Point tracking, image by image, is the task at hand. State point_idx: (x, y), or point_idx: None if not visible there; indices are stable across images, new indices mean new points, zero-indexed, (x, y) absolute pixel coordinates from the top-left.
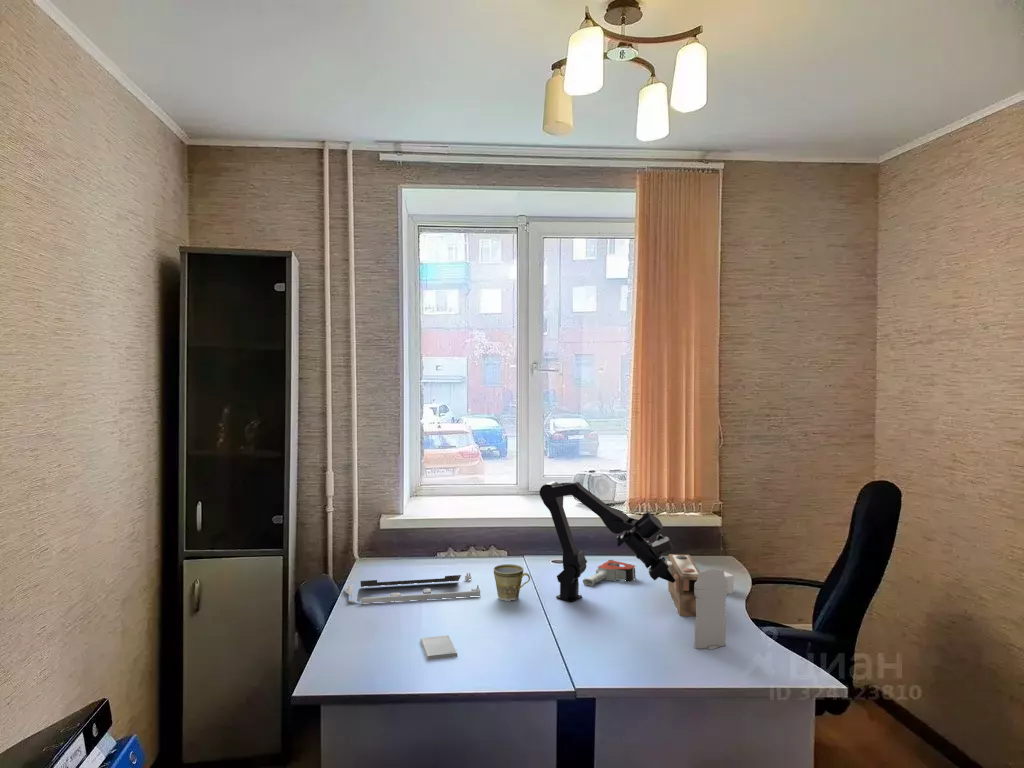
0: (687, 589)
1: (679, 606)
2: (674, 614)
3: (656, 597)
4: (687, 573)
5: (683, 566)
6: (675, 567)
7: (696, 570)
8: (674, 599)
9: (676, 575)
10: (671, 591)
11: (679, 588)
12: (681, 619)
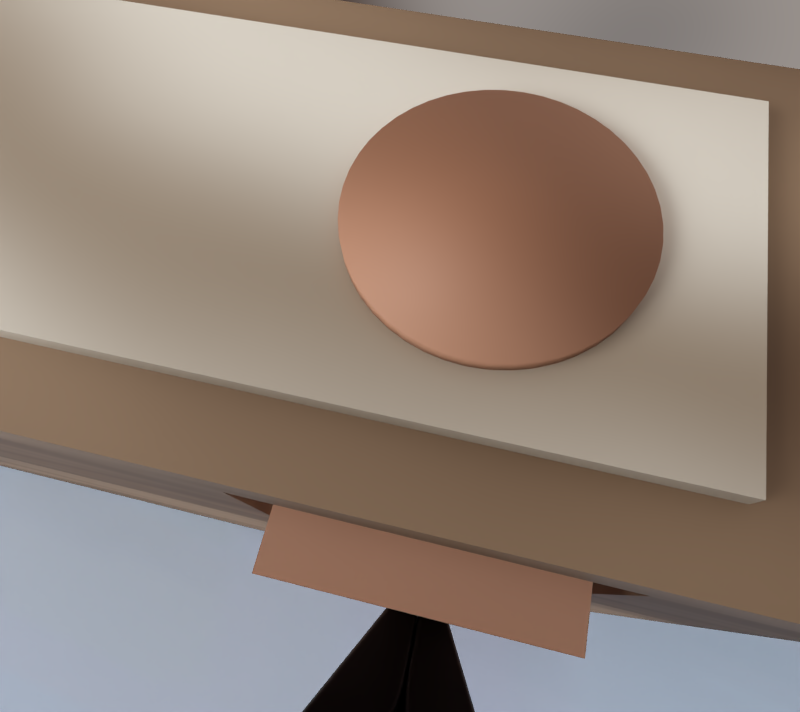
0: None
1: (592, 609)
2: (541, 654)
3: (5, 659)
4: (750, 347)
5: (109, 222)
6: (27, 437)
7: (487, 58)
8: (232, 521)
9: (383, 559)
10: (19, 468)
11: (658, 613)
12: (687, 632)
